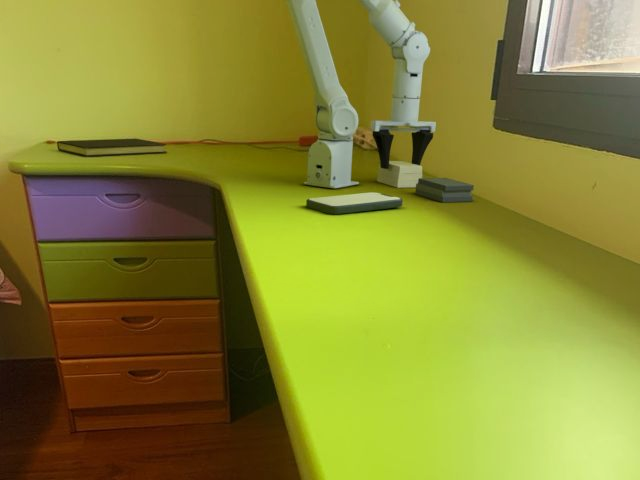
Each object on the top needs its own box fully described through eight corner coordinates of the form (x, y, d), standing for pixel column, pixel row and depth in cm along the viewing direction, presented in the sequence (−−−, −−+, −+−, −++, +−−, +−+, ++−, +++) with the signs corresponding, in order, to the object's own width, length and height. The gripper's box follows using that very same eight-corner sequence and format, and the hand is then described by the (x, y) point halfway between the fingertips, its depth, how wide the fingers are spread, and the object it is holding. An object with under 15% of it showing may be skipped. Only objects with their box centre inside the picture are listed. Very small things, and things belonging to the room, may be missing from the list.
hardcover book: (166, 153, 185) (165, 143, 184) (86, 156, 171) (85, 147, 170) (135, 147, 196) (135, 138, 194) (57, 150, 181) (56, 140, 180)
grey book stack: (472, 201, 133) (474, 184, 131) (442, 202, 130) (444, 185, 129) (443, 193, 141) (445, 177, 139) (415, 193, 138) (416, 178, 137)
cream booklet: (422, 173, 145) (422, 166, 145) (399, 173, 143) (399, 166, 143) (400, 167, 153) (401, 160, 152) (378, 168, 151) (379, 161, 150)
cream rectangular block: (421, 187, 147) (423, 173, 145) (397, 187, 145) (398, 173, 143) (399, 180, 154) (400, 167, 153) (376, 181, 152) (377, 167, 151)
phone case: (332, 217, 114) (405, 208, 122) (332, 206, 113) (406, 198, 122) (303, 208, 120) (374, 200, 129) (303, 198, 120) (374, 191, 128)
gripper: (384, 98, 136) (379, 171, 142) (446, 99, 141) (438, 170, 147) (367, 96, 141) (363, 166, 148) (428, 98, 147) (421, 165, 153)
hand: (400, 168), depth 148 cm, fingers open, 7 cm apart
